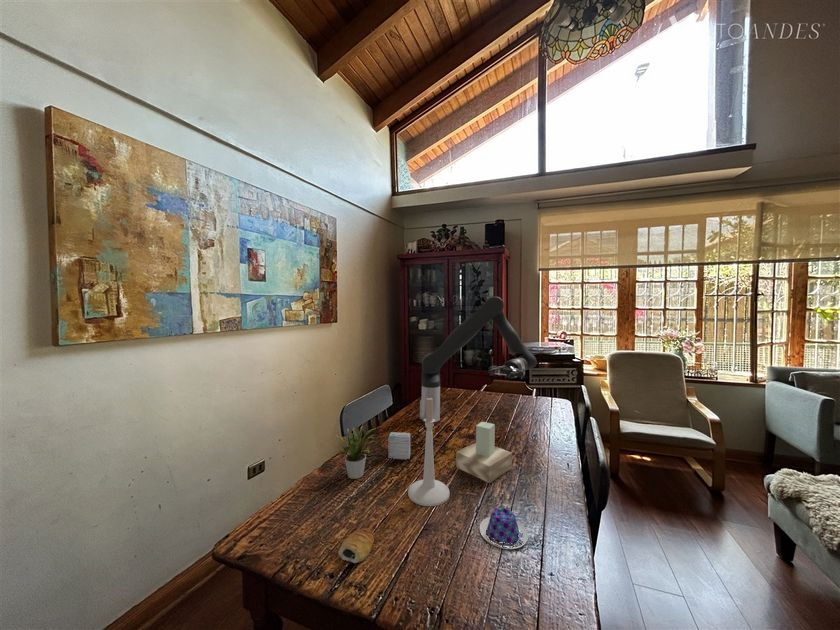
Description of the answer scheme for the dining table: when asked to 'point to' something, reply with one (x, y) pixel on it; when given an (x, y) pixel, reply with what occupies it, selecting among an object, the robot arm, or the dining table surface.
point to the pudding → (502, 527)
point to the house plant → (356, 453)
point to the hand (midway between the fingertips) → (500, 374)
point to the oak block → (484, 462)
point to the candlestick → (429, 471)
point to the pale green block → (485, 439)
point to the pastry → (357, 545)
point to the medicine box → (399, 445)
